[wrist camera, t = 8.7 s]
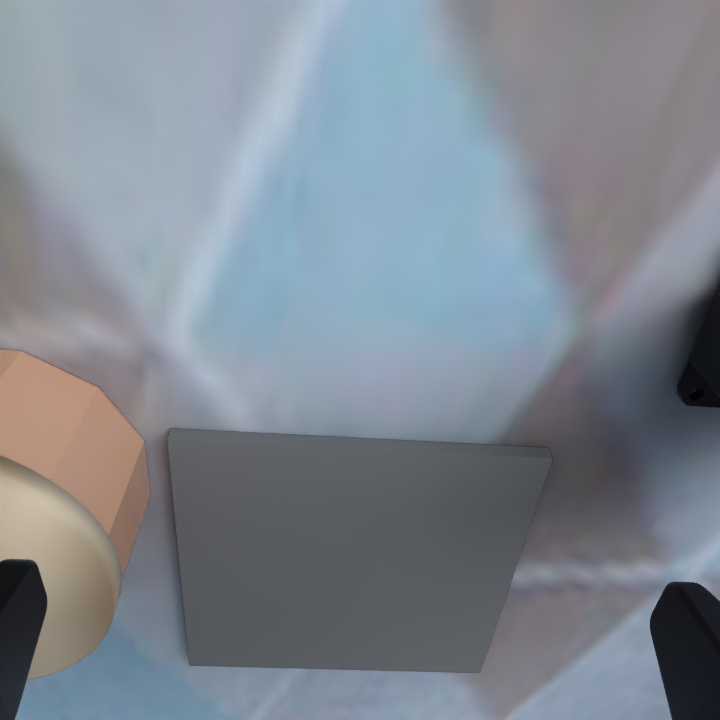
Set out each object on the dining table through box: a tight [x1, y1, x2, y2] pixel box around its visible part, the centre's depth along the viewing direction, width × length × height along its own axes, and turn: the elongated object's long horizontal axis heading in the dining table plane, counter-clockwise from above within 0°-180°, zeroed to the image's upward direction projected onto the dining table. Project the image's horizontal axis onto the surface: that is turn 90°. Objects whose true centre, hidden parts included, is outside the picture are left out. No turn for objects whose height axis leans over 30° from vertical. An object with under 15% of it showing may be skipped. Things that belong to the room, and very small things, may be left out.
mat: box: [167, 428, 553, 673], centre depth 27 cm, size 14×14×1 cm
